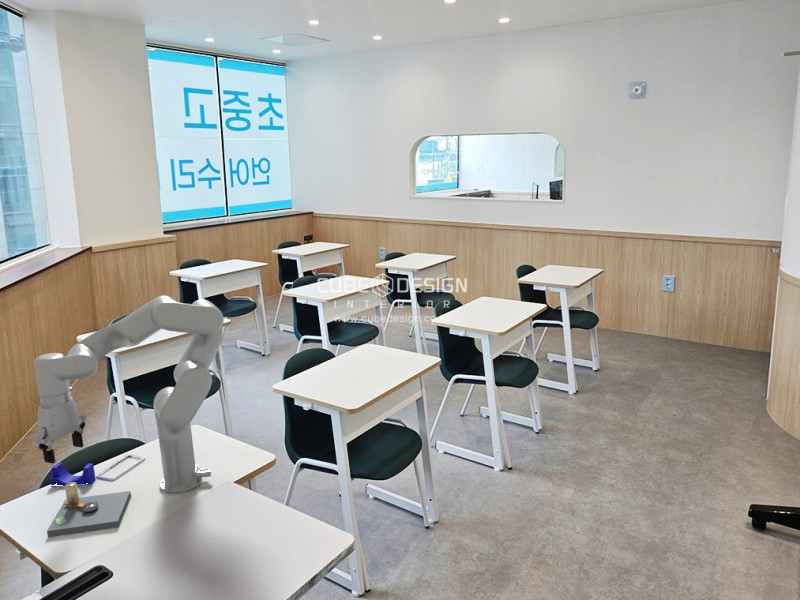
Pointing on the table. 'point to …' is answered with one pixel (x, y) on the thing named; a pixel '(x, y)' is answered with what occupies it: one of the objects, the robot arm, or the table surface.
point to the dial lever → (74, 499)
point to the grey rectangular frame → (121, 472)
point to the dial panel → (90, 515)
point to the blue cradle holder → (64, 477)
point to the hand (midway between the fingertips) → (64, 454)
